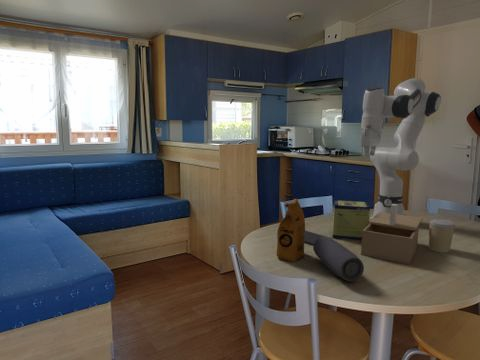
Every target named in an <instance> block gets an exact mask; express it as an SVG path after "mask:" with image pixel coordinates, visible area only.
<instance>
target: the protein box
mask: <svg viewBox="0 0 480 360" xmlns="http://www.w3.org/2000/svg"><path fill="white" fill-rule="evenodd" d="M332 208H333V209H332V211H333V212H332V213H333V214H332V227H331V228H332V229H331V234H332V239H339V240H340V239H343V240H355V241H362V231H363V230H364V229H365V228H366V227H367V226H368V225H369V221H370V211H371V207H370V205H369V203H368V202H367V201H354V200H353V201H352V200H351V201H350V200H333V207H332Z"/></svg>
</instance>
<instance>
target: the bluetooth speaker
mask: <svg viewBox="0 0 480 360" xmlns="http://www.w3.org/2000/svg"><path fill="white" fill-rule="evenodd" d="M329 237H330V236H326V235H323V236H322V237H320V238H318V239H317V240H316V241H315V243H314V246H312V247H313V252H314V254H315V255H316V256H317V258H318V259H319V260H320V261H321V262H322V263H323V264H324V265H325V266H326V267H327V269H328V270H329V271H330V272H332V273H333V274H334V275H335V276H336V277H338V278H342V279H343V280H345V281H347V282H355V281H357V280H359V279H360V278H361V277H362V275H363V273H364V271H365V266H364V263H363V261H362V259H360V257H358V256H357V255H356V254H355V253H354V252H353V251H351V250H350V249H348V248H347V247H346V246H344V245H343V244H341V243H339V241H336V240H335V239H334V238H332V237H330V238H329ZM331 238H332V239H331Z"/></svg>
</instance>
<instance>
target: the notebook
mask: <svg viewBox="0 0 480 360" xmlns="http://www.w3.org/2000/svg"><path fill="white" fill-rule="evenodd" d="M322 236H324V235H322V234H319V233H316V232H311V231H307V230H305V239H304V245H305V244H306V245H308V246H312V247H313V246H314V243H315V241H316V240H317V239H318V238H320V237H322ZM328 237H329V238H331V239H333V237H330V236H328Z"/></svg>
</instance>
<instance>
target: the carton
mask: <svg viewBox="0 0 480 360" xmlns="http://www.w3.org/2000/svg"><path fill="white" fill-rule="evenodd" d="M419 230H420V225H419V226H418V228H417V229H416V231H414V230H407V229H401V228H394V227H388V226H381V225H375V224H369V225H368V226H367V227H366V228H365V229H364V230H363V231H362V240H361V247H360V249H361V250H360V255H361V256H366V257H372V258H375V259H376V258H377V259H380V260H386V261H390V262H391V261H392V262H396V263H400V264H401V263H402V264H405V265H406V264H407V265H410V264H411V262H412V260H413V258H414V256H415V254H416V252H417V250H418V241H419V240H418V239H419Z"/></svg>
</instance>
